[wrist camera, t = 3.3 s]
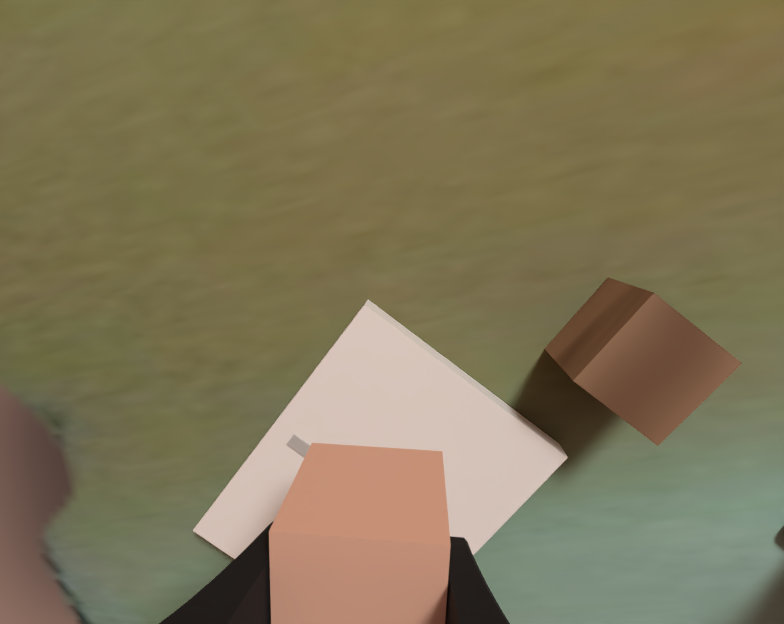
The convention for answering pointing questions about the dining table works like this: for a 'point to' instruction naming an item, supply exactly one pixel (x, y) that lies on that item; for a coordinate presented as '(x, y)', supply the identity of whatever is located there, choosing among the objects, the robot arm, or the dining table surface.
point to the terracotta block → (362, 539)
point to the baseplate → (392, 434)
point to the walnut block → (640, 358)
